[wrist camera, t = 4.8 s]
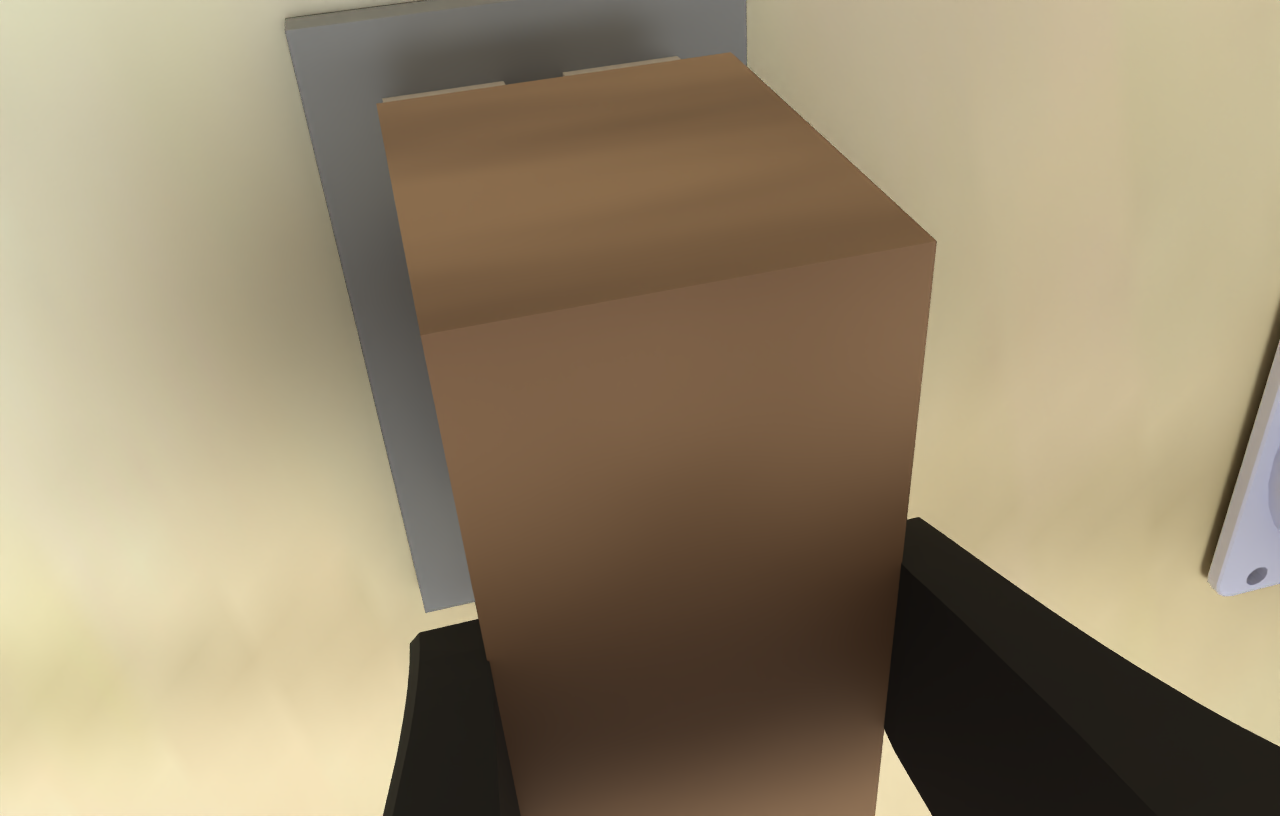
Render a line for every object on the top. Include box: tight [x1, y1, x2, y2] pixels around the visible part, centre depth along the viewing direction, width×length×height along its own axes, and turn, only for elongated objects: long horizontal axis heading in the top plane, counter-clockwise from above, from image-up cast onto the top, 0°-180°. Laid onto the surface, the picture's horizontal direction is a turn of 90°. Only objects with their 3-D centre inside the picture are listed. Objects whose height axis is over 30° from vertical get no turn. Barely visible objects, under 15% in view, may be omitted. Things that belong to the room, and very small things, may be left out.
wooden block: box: [376, 52, 937, 816], centre depth 13 cm, size 10×4×5 cm, turn 3°
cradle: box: [285, 0, 747, 613], centre depth 16 cm, size 10×6×3 cm, turn 3°
